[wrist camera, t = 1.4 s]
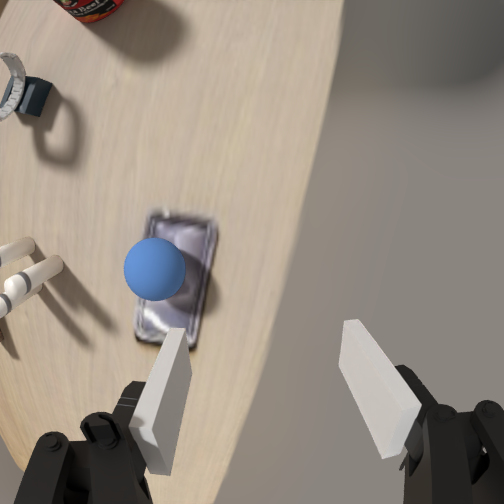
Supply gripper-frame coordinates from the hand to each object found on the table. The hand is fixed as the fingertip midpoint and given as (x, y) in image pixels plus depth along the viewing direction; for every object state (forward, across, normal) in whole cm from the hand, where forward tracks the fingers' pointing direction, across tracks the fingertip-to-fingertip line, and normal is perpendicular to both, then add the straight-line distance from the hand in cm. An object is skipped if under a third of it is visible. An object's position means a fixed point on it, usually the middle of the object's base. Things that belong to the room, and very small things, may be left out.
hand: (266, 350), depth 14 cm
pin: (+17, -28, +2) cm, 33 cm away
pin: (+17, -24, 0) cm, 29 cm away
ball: (+14, -10, 0) cm, 17 cm away
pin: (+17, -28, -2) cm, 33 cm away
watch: (+17, -26, +21) cm, 38 cm away
